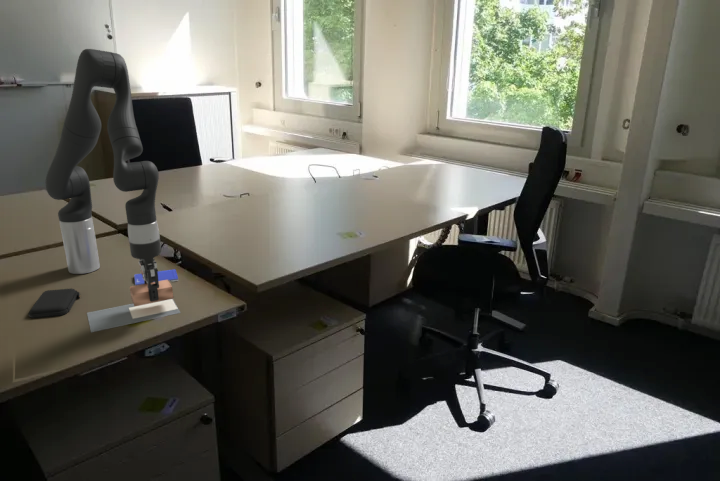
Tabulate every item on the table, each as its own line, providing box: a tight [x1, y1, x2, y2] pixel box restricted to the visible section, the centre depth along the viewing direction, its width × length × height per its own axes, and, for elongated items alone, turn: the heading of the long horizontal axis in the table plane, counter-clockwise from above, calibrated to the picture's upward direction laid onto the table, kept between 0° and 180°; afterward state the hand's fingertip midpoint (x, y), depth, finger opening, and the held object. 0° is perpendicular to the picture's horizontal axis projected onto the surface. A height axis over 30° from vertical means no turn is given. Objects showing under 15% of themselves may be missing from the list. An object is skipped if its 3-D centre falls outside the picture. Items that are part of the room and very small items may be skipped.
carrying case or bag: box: [28, 288, 81, 319], centre depth 147 cm, size 11×3×15 cm
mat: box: [86, 298, 182, 333], centre depth 144 cm, size 12×22×1 cm, turn 120°
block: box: [129, 280, 174, 306], centre depth 144 cm, size 10×6×4 cm, turn 120°
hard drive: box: [133, 268, 179, 286], centre depth 166 cm, size 2×8×12 cm
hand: (152, 296), depth 145 cm, fingers closed on block, 5 cm apart
